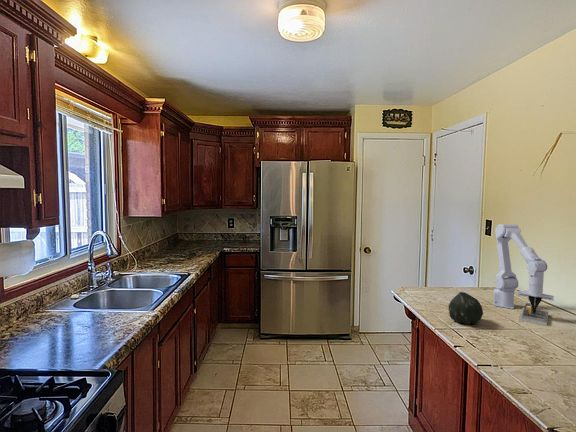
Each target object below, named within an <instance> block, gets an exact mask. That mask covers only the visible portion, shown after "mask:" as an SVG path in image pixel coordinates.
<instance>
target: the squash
mask: <svg viewBox="0 0 576 432" xmlns="http://www.w3.org/2000/svg"><path fill="white" fill-rule="evenodd" d="M447 308H448V314H449V317H450V319H451V320H453V321H455V322H457V323H459V324H463V323H464V324H465V325H470V324H471V325H476V324H477V323H478V322H479V321H480V320H481V319H482V317H483V315H484V311H483V306H482V304H481V303H480V301H479V300H478V299H477V298H476V297H474V296H472V295H471V294H469V293H467V292H464V291H459V292H458V293H457V294H456V295H455V296H454V297H452V299H451V300H450V302H449V303H448V307H447Z"/></svg>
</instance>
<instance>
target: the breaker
mask: <svg viewBox="0 0 576 432" xmlns="http://www.w3.org/2000/svg"><path fill="white" fill-rule="evenodd" d="M523 308H524V310H523V315H524V316H528V315H529V309H526V308H525V307H523Z"/></svg>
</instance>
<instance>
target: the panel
mask: <svg viewBox="0 0 576 432" xmlns="http://www.w3.org/2000/svg"><path fill="white" fill-rule="evenodd" d="M524 308H525V307H522V309H521V311H520V313H519V316H518V321H519V322H525V323H531V324H536V325H540V326H546V327H547V326H548V320H549V311H546V310H540V309H536V313H533V311H532V309H531V313H529V315H528V316H524V315H523V310H524Z"/></svg>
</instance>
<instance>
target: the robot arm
mask: <svg viewBox="0 0 576 432" xmlns="http://www.w3.org/2000/svg"><path fill="white" fill-rule="evenodd" d="M494 231H495V233H494V234H495V238H496V239H495V240H496V248H497V249H496V250H497V257H498V266H499V272H498V273H497V274H496V275H495V281H494V283H495V287H496V288H494V290H493V300H492V301H493V302H492V303H493V304H492V305H493V307H500V308H503V309H504V308H507V309H509V310H510V309H511V310H514V308H515V306H516V304H514V303H515V302H514V301H515V300H514V299H515V291H516V289H518V287H519V280H518V278H517V275H516V274H515V273H514V272H513V271H512V264H511V257H510V256H511V255H510V248H509V242H510V241H511V240H512V241H513V242H514V243H515V244H516V245H517V246H518V248H519V249H520V255H521V256H522V258H523V260H524V261H525V262H526V263H527V265H526V269H527V270H528V275H529V280H528V291H525V290H517V296H524V297H528V299H527V300H528V301H529V303H530V304H531V307H532V311H533V313H536V310H538V307H539V305H540V304H541V302H542V301H543V300H547V301H548V300H549V301H554V300H555V299H554V297H555V296H554V295H550V294H546V293H543V292H544V277H545V275H544V274H545V272H546V271H548V263H547V262H546V260H544V259H542V258H541V257H540V256H538V254H537V253H536V251H535V249H534V248H533V247H530V246H528V244H527V243H526V241H525V239H524V237H523V236H522V234H521V232H522V231H521V228H520V227H519V225H518V224H515V223H514V224H513V223H511V224H509V223H508V224H507V223H505V224H504V223H503V224H502V223H499V224H498V225H497V226H496V227H495V229H494Z"/></svg>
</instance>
